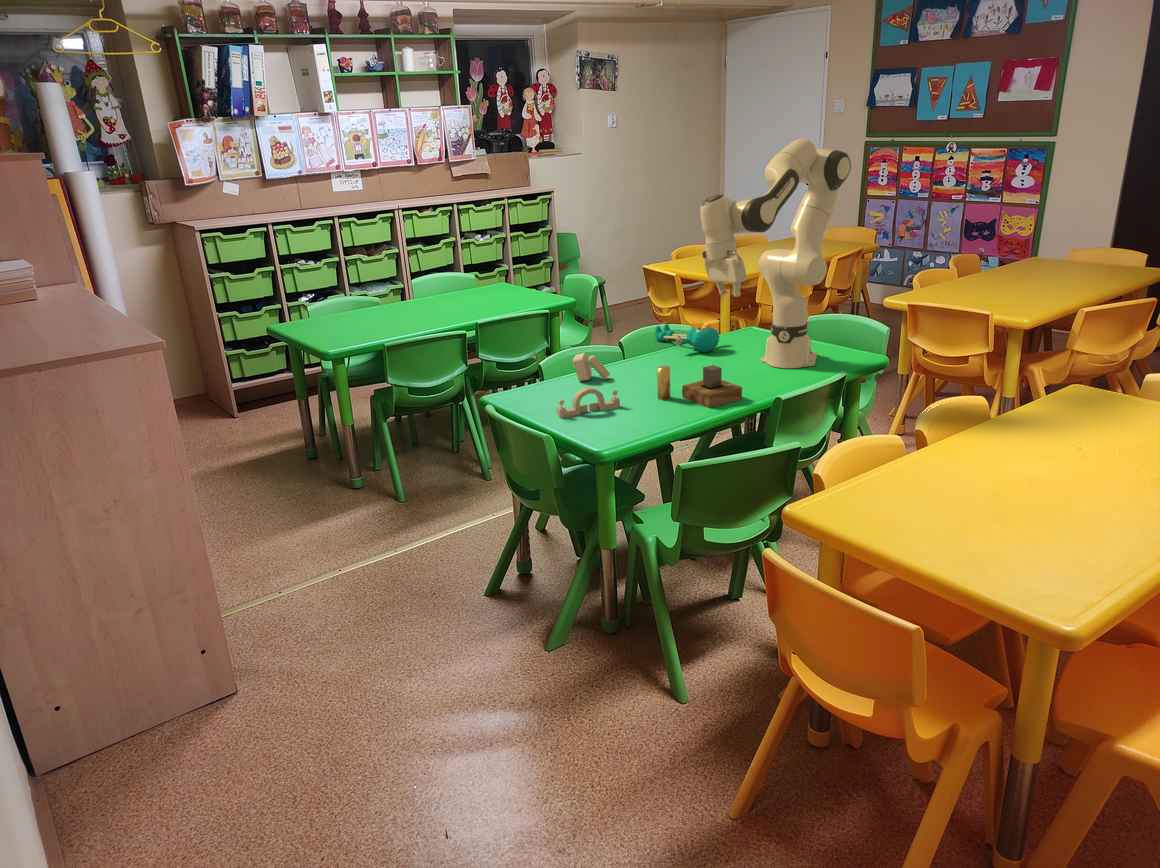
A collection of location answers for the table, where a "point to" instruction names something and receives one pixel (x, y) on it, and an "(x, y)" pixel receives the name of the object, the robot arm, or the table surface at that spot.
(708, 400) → the walnut bore block
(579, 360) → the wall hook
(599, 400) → the gateway
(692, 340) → the toy
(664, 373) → the cylinder
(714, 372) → the steel square bit
